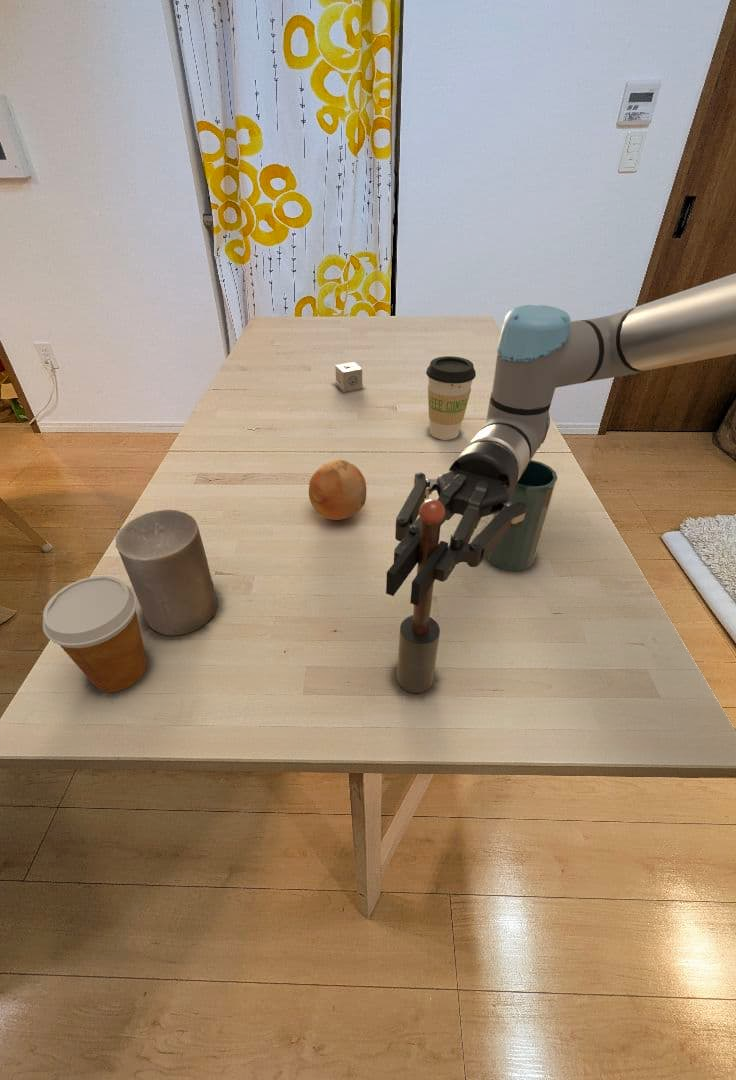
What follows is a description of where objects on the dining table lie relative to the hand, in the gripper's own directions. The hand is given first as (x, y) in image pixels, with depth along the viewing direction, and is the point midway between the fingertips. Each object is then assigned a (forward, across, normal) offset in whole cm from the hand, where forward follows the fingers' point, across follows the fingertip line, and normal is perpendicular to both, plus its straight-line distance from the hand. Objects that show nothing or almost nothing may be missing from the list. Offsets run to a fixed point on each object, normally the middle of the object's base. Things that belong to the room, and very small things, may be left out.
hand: (402, 588), depth 46 cm
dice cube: (-76, +52, -20) cm, 94 cm away
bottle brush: (-6, 0, -20) cm, 21 cm away
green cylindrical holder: (-34, -3, -20) cm, 39 cm away
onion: (-30, +26, -20) cm, 44 cm away
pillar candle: (0, +33, -20) cm, 39 cm away
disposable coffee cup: (+11, +32, -20) cm, 40 cm away
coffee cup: (-66, +21, -20) cm, 72 cm away
